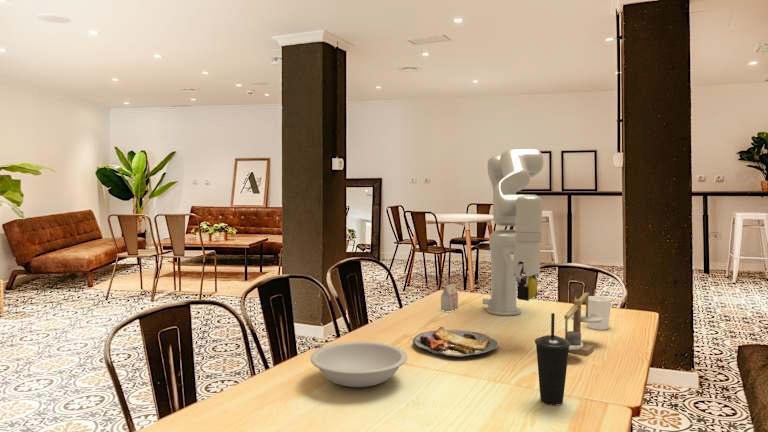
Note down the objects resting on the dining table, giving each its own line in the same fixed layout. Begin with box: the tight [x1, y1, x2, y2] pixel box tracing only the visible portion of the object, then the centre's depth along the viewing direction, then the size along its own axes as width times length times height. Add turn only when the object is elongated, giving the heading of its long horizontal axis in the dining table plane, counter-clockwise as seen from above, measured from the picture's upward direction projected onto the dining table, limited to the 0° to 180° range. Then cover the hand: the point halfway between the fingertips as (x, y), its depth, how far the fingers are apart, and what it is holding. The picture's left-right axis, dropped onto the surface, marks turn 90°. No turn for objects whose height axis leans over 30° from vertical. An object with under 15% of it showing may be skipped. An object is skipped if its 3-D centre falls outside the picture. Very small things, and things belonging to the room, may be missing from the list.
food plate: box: [412, 326, 499, 358], centre depth 159 cm, size 25×23×4 cm
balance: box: [563, 291, 603, 356], centre depth 155 cm, size 9×27×16 cm, turn 141°
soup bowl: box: [310, 340, 408, 388], centre depth 131 cm, size 24×24×7 cm
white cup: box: [586, 295, 612, 331], centre depth 180 cm, size 8×8×10 cm
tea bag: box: [440, 283, 459, 312], centre depth 206 cm, size 4×7×10 cm, turn 143°
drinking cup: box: [534, 312, 571, 406], centre depth 119 cm, size 8×8×20 cm
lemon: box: [523, 276, 538, 302], centre depth 157 cm, size 6×6×8 cm
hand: (527, 297), depth 158 cm, fingers closed on lemon, 5 cm apart
